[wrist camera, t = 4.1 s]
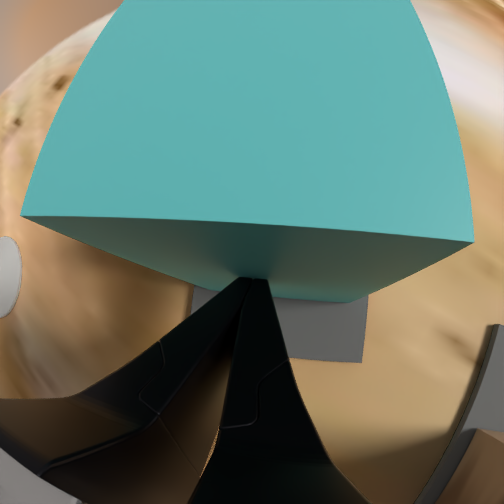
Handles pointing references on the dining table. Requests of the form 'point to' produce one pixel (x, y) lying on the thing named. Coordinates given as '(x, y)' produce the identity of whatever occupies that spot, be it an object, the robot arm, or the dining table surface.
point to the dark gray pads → (351, 350)
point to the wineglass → (9, 274)
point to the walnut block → (478, 472)
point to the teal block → (260, 146)
